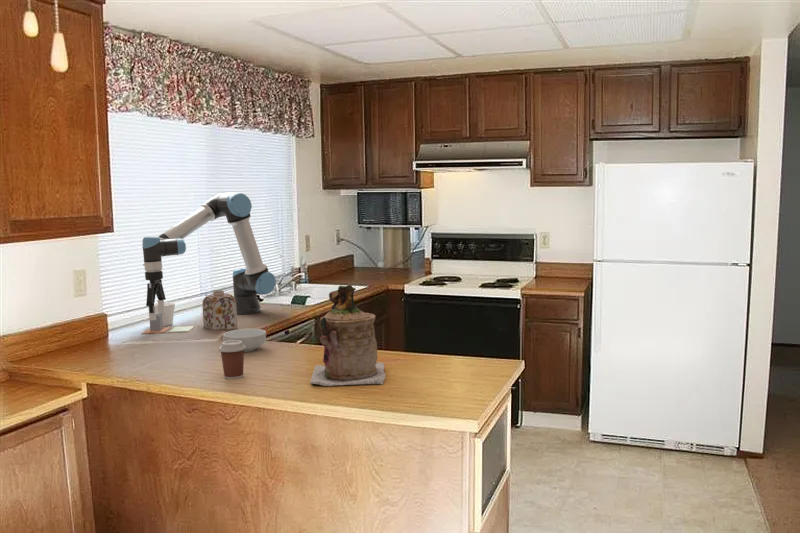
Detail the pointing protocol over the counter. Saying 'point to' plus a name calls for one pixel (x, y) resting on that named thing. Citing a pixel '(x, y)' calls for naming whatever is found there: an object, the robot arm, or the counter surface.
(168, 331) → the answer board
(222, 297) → the decorative jar
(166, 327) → the pad
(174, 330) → the pad
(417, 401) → the counter surface
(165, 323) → the cup
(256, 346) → the cereal bowl
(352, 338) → the cookie jar
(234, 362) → the coffee cup
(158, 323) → the slate block
